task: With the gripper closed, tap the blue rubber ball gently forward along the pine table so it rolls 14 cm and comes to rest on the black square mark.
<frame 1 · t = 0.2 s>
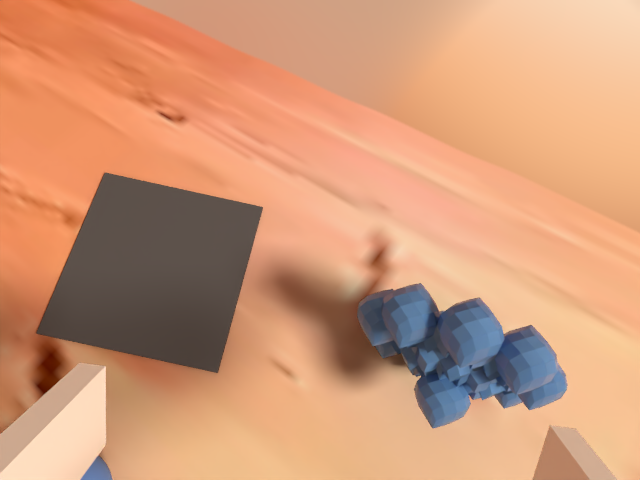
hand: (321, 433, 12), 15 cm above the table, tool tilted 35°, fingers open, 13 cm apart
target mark: (158, 266, 29), on the table
grapes: (416, 368, 28), on the table
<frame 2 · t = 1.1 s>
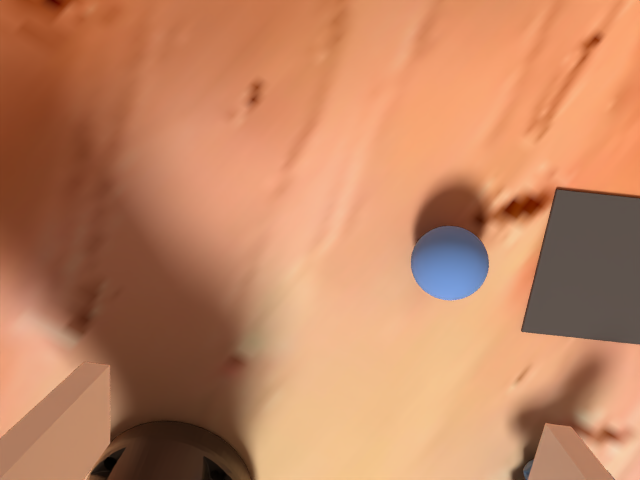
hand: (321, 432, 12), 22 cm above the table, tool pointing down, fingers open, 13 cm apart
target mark: (611, 271, 33), on the table
ball: (448, 262, 31), on the table
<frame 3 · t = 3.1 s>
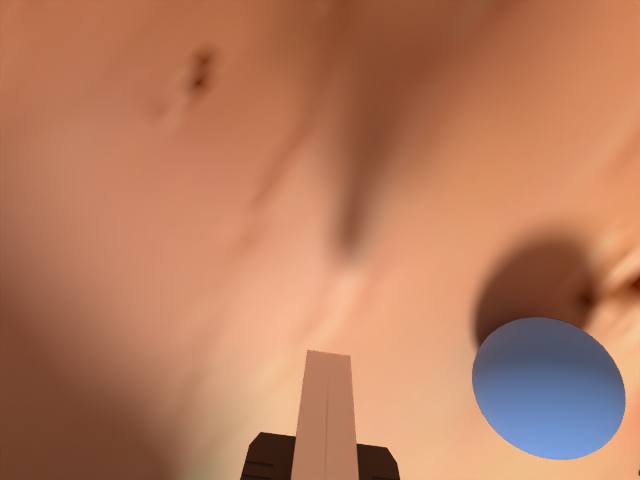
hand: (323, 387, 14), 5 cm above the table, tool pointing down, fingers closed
ball: (542, 384, 17), on the table
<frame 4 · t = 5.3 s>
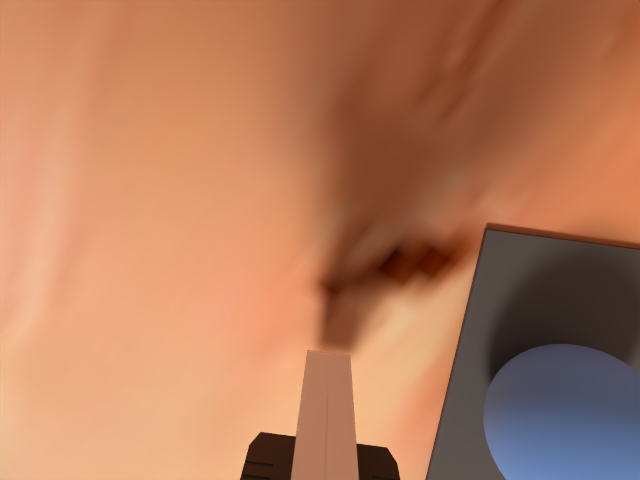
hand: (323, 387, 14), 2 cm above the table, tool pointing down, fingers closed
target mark: (601, 395, 16), on the table
ball: (573, 429, 14), on the table
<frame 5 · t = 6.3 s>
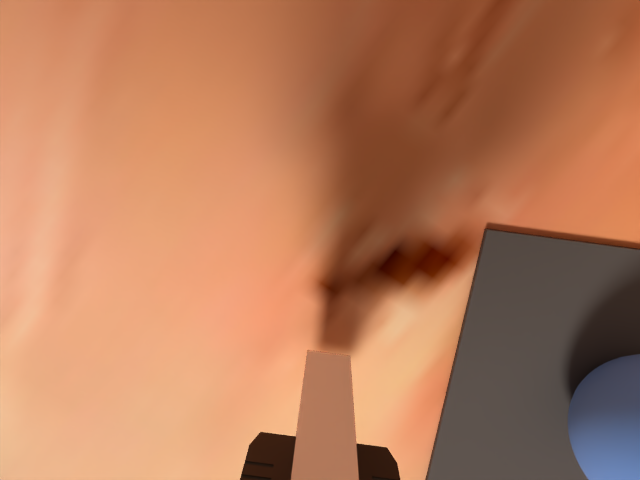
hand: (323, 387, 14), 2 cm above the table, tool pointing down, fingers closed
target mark: (601, 395, 16), on the table
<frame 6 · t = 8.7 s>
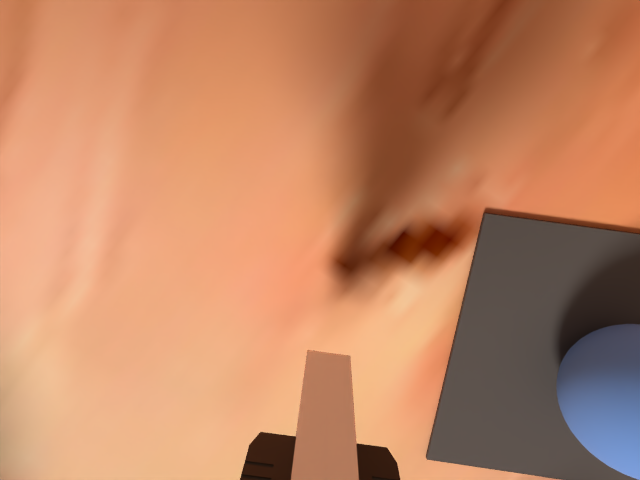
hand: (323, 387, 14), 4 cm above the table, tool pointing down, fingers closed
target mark: (588, 364, 18), on the table
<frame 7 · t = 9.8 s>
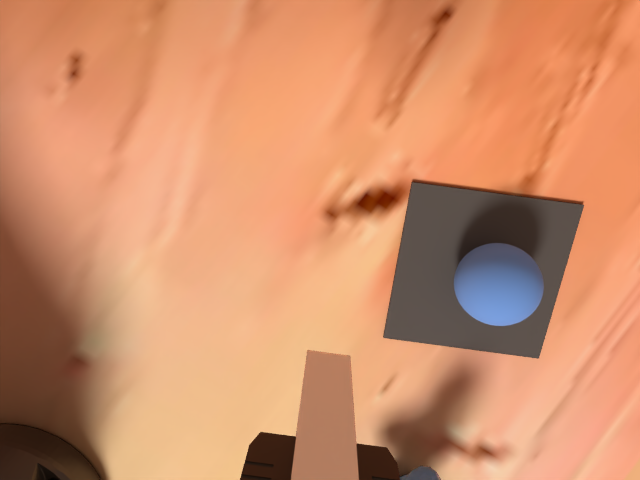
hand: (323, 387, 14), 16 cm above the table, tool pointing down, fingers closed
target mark: (477, 273, 30), on the table
grapes: (392, 476, 35), on the table
ball: (497, 284, 28), on the table
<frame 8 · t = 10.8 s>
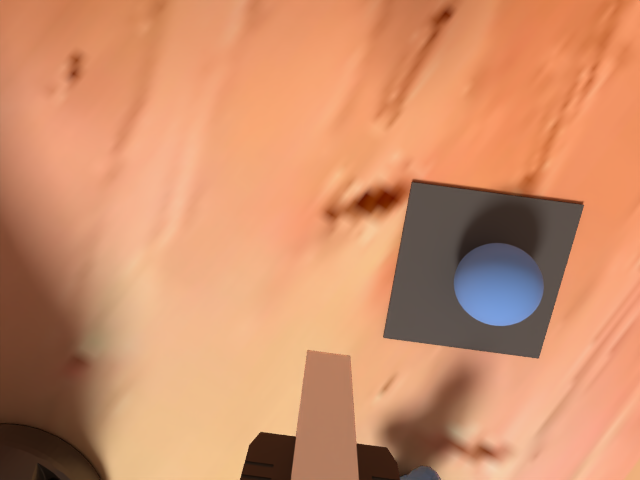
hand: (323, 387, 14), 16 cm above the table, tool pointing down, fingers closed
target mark: (477, 273, 30), on the table
grapes: (392, 476, 35), on the table
ball: (497, 284, 28), on the table
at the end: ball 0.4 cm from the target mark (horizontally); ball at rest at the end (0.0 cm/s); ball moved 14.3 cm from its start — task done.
